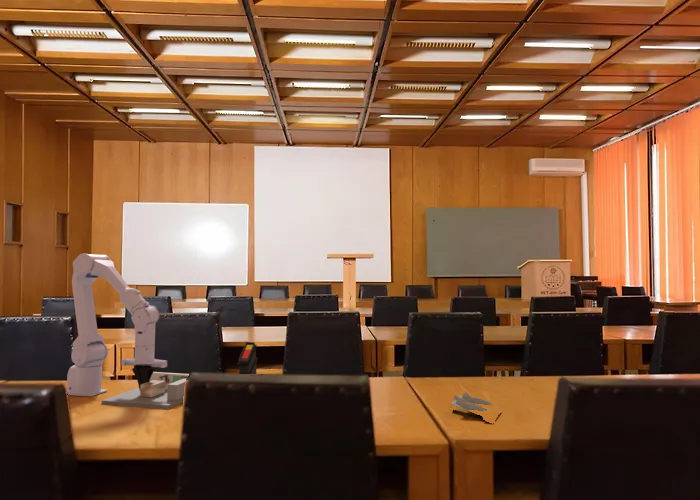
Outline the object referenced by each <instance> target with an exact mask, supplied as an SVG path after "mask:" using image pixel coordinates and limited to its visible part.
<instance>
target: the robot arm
mask: <svg viewBox="0 0 700 500" xmlns="http://www.w3.org/2000/svg"><path fill="white" fill-rule="evenodd" d="M115 267H116V266H115V263H114V261H113V260H111V258H110V257H109V256H108V255H106V254H91V253H89V254H88V253H84V252H83V253H80V254H78V255H77V257H76V258H75V259H74V260H73V261H72V268H73V271H72V272H73V273H72V277H71V287H72V295H73V301H74V302H73V303H74V311H75V319H76V320H75V321H76V327H77V334H78V335H77V337H76V339H75V340H73V342H72V349H71V350H72V351H71V357H70V358H71V361H72V362H73V363H74V365H72V366H70V367H69V369H68V372H67V375H66V378H67V379H66V393H67V392H68V395H67V396H77V397H78V396H79V397H94V396H96V395H99V394H103V393H106V392H108V389H102V383H103V382H102V379H103V376H102V375H103V364H104V360H105V359H107V357H108V353H109V350H108V346H107V345H106V344H105V338H104V337H103V336H102V335H101V334H100V333H99V332H98V325H97V316H96V309H95V300H94V294H93V292H94V291H93V283H94V282H95V281H96V280H97V279H99V278H100V277H101V278H103V279H105V281H107V283H109V285H110V286H111V287H112V288H113V289H114V290H115V291H116V292H117V293H118V295H119V301H120V303H121V304H122V306H124V307H125V308H126V309H127V311H128V312H129V313H130V314H131V317H130V318H131V321H132V323H133V325H134V331H135V333H134V334H135V335H134V336H135V337H134V358H122V359H121V366H122V367H123V366H130V367H132V369H131V371H132V372H133V374H134V376H135V379H136V381H137V384H138V388H139V389H140V388H141V384H144V383H147V382H149V381H150V378H151V376H152V374H153V372H155V370H156V368H161V369H165V368H167V367H168V360H166V359H165V360H164V359H158V358H155V347H156V345H155V344H156V343H155V341H156V323H157V322H158V321H159V319H160V311H159V309H158V308H157V307H156V306H155V305H150V302H148V301H147V300H146V299H145V298H144V297H143V296H142V295H141V291H140V290H139V289H136V288H134V287H130V286H129V285H128V284H127V282H126V281H125V279H124V278H123V277H122V275H121V273H119V272H118V270H117V269H116V268H115ZM133 366H134V368H133Z"/></svg>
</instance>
